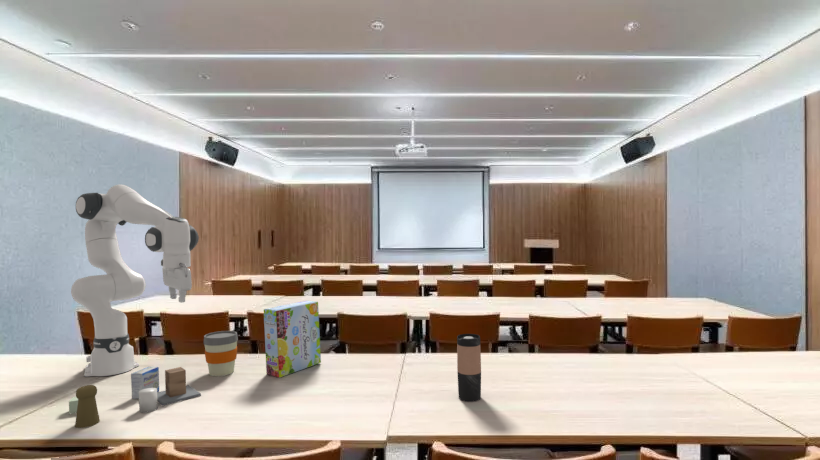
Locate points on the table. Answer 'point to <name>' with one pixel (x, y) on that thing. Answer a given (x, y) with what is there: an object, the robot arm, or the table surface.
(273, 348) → the snack box
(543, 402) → the table surface
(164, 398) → the slate mat
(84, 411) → the cork
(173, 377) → the walnut block
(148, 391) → the white smooth pebble
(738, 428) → the table surface
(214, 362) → the reusable coffee cup
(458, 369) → the travel mug
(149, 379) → the medicine box
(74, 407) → the sage green block
